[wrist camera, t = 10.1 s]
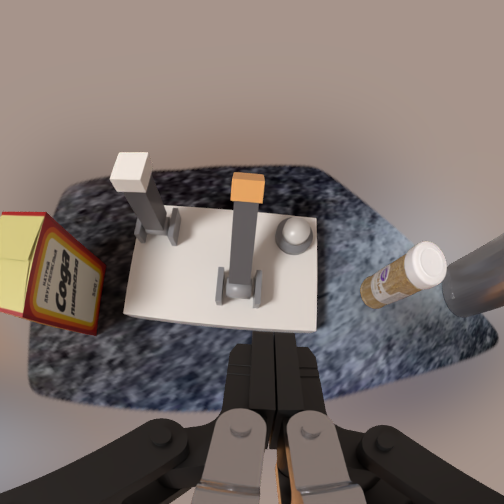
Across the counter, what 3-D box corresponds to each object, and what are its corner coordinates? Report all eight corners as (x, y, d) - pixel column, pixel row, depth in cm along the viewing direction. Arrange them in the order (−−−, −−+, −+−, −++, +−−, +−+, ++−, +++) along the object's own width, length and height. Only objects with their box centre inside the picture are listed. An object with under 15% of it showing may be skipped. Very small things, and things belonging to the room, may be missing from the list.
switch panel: (310, 227, 40) (322, 207, 34) (309, 333, 35) (323, 328, 30) (149, 214, 39) (138, 193, 34) (131, 317, 34) (114, 309, 29)
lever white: (173, 219, 35) (148, 152, 23) (169, 241, 34) (140, 179, 22) (151, 218, 35) (119, 152, 23) (147, 239, 34) (109, 179, 22)
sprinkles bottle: (359, 275, 38) (411, 236, 25) (388, 278, 38) (445, 242, 25) (358, 308, 36) (415, 283, 24) (388, 310, 37) (450, 286, 24)
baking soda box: (96, 335, 33) (19, 316, 18) (56, 327, 33) (-23, 304, 18) (106, 265, 36) (44, 210, 21) (67, 261, 36) (0, 210, 21)
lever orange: (251, 290, 34) (263, 174, 28) (250, 305, 31) (264, 181, 25) (226, 288, 33) (234, 172, 28) (224, 302, 31) (232, 178, 25)
